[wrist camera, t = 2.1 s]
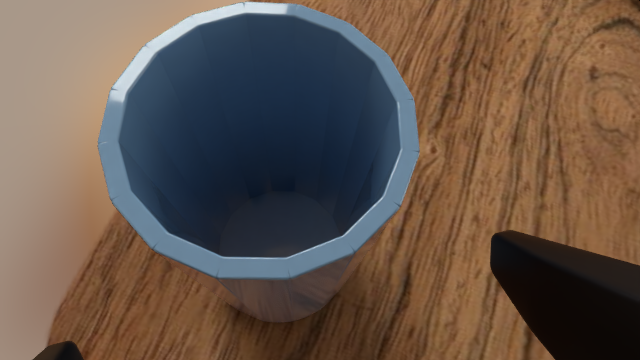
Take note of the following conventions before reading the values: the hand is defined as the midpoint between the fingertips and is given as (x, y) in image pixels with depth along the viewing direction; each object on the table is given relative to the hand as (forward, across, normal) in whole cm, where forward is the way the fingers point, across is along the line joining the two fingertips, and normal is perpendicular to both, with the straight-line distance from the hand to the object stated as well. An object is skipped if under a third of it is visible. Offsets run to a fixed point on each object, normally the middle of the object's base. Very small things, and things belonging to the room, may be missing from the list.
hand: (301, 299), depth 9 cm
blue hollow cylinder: (+10, 0, +5) cm, 11 cm away
